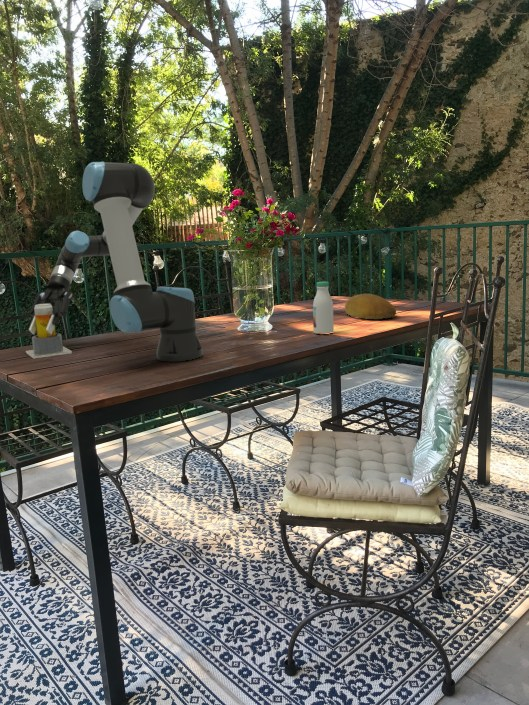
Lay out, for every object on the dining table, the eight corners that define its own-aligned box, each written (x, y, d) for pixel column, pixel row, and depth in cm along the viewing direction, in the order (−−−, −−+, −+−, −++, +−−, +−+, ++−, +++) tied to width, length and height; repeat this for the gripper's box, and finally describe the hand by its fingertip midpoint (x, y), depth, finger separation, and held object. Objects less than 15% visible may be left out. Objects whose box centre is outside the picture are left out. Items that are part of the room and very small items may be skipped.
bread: (369, 310, 285) (369, 289, 283) (403, 319, 252) (404, 296, 250) (334, 312, 281) (334, 292, 279) (364, 322, 247) (364, 299, 245)
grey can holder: (71, 353, 206) (70, 335, 204) (33, 358, 199) (31, 340, 197) (62, 348, 216) (60, 331, 215) (26, 352, 210) (23, 335, 208)
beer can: (51, 348, 204) (45, 305, 200) (35, 348, 205) (30, 305, 202) (60, 344, 209) (55, 303, 206) (45, 344, 211) (40, 303, 208)
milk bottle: (336, 332, 225) (336, 281, 221) (328, 335, 219) (327, 282, 215) (319, 331, 229) (318, 280, 225) (310, 334, 223) (308, 282, 219)
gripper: (88, 286, 216) (69, 338, 203) (42, 287, 220) (21, 338, 207) (79, 273, 210) (59, 325, 197) (32, 274, 214) (10, 325, 201)
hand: (40, 331), depth 202 cm, fingers closed on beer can, 6 cm apart
